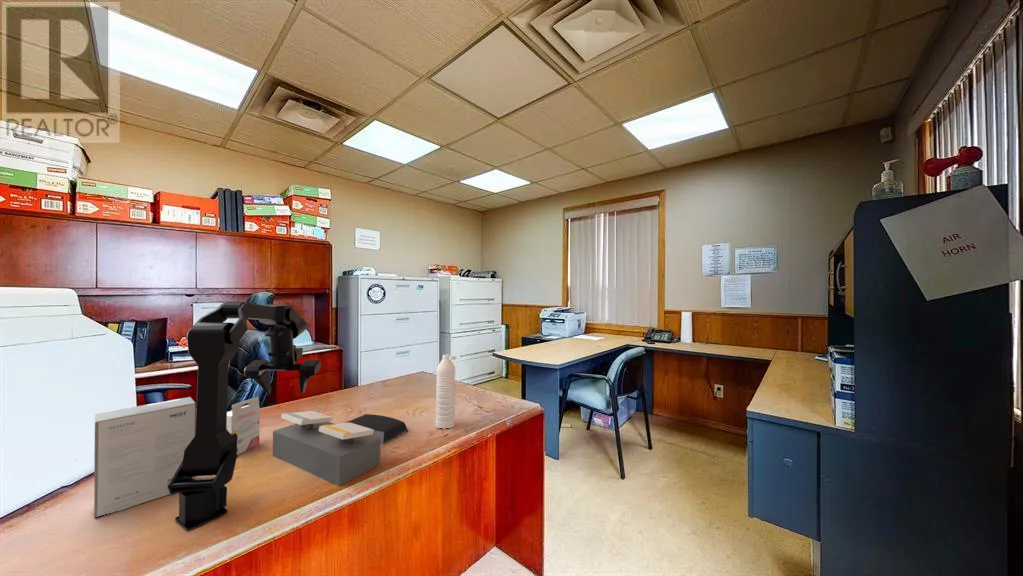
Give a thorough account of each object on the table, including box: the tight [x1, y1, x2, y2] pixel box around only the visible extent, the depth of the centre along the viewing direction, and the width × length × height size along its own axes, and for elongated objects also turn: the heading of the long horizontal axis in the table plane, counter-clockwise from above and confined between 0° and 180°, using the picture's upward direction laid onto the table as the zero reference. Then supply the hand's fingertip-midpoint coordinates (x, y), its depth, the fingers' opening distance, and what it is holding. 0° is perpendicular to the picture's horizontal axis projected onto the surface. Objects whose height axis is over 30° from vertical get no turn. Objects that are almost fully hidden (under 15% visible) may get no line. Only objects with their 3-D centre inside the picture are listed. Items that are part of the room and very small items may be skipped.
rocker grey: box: [280, 410, 333, 425], centre depth 99 cm, size 9×10×1 cm
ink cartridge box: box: [226, 396, 261, 456], centre depth 99 cm, size 9×5×15 cm, turn 168°
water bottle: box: [435, 353, 457, 429], centre depth 118 cm, size 9×6×25 cm
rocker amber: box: [319, 422, 374, 439], centre depth 90 cm, size 9×10×1 cm
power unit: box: [272, 421, 382, 487], centre depth 94 cm, size 12×30×9 cm, turn 61°
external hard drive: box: [344, 413, 409, 446], centre depth 113 cm, size 13×19×4 cm
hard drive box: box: [93, 396, 197, 518], centre depth 77 cm, size 16×8×20 cm, turn 141°
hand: (286, 393), depth 104 cm, fingers open, 9 cm apart
